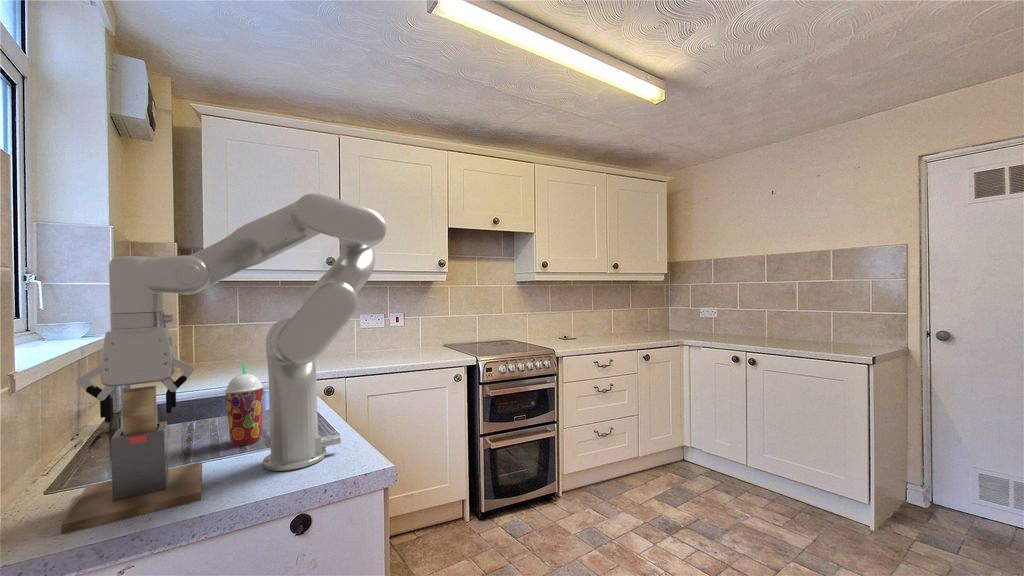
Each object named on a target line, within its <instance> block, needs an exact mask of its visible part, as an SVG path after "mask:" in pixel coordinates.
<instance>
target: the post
mask: <svg viewBox="0 0 1024 576" xmlns="http://www.w3.org/2000/svg"><path fill="white" fill-rule="evenodd" d="M121 403H122V406H121V407H122V408H121V409H122V428H123V435H130V434H136V433H142V432H148V431H154V430H157V423H158V417H157V411H158V410H157V385H150V386H143V387H134V388H125V390H124V391H123V392H122V394H121Z"/></svg>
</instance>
